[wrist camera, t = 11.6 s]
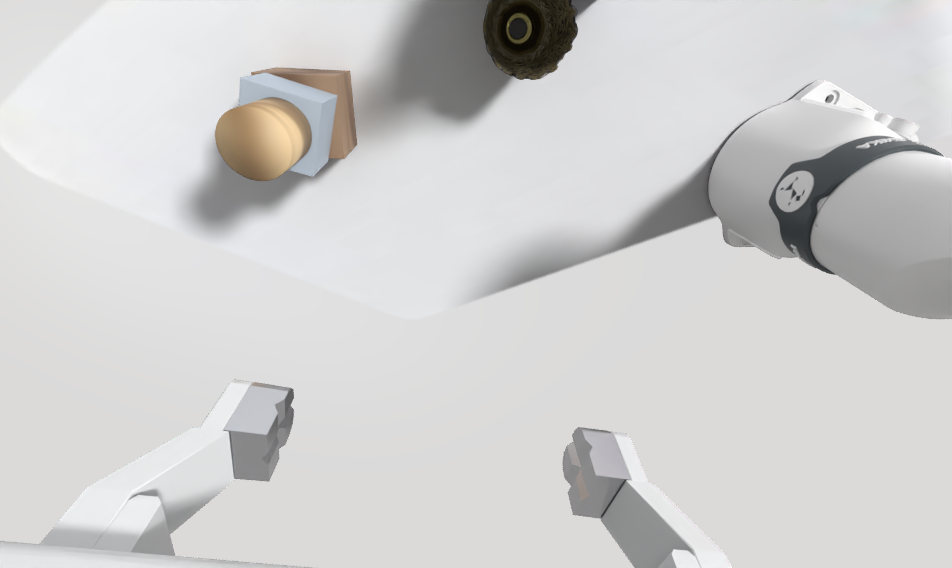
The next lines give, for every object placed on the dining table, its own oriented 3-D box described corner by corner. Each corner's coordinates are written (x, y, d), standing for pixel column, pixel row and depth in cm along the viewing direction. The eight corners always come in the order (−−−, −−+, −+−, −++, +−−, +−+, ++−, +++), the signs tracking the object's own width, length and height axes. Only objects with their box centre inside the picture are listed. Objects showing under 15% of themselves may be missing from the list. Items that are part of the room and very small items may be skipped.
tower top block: (337, 95, 37) (322, 103, 33) (328, 161, 40) (312, 176, 36) (265, 72, 36) (240, 77, 32) (261, 142, 39) (237, 155, 34)
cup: (518, 89, 43) (530, 100, 36) (462, 33, 40) (464, 33, 33) (573, 24, 40) (597, 22, 33) (517, -41, 37) (531, -57, 30)
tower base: (350, 70, 41) (335, 76, 36) (357, 144, 45) (344, 158, 40) (276, 67, 41) (251, 72, 36) (289, 141, 44) (268, 156, 39)
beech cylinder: (310, 102, 33) (288, 112, 28) (313, 166, 35) (293, 185, 31) (242, 92, 32) (209, 101, 28) (250, 158, 35) (221, 176, 30)
